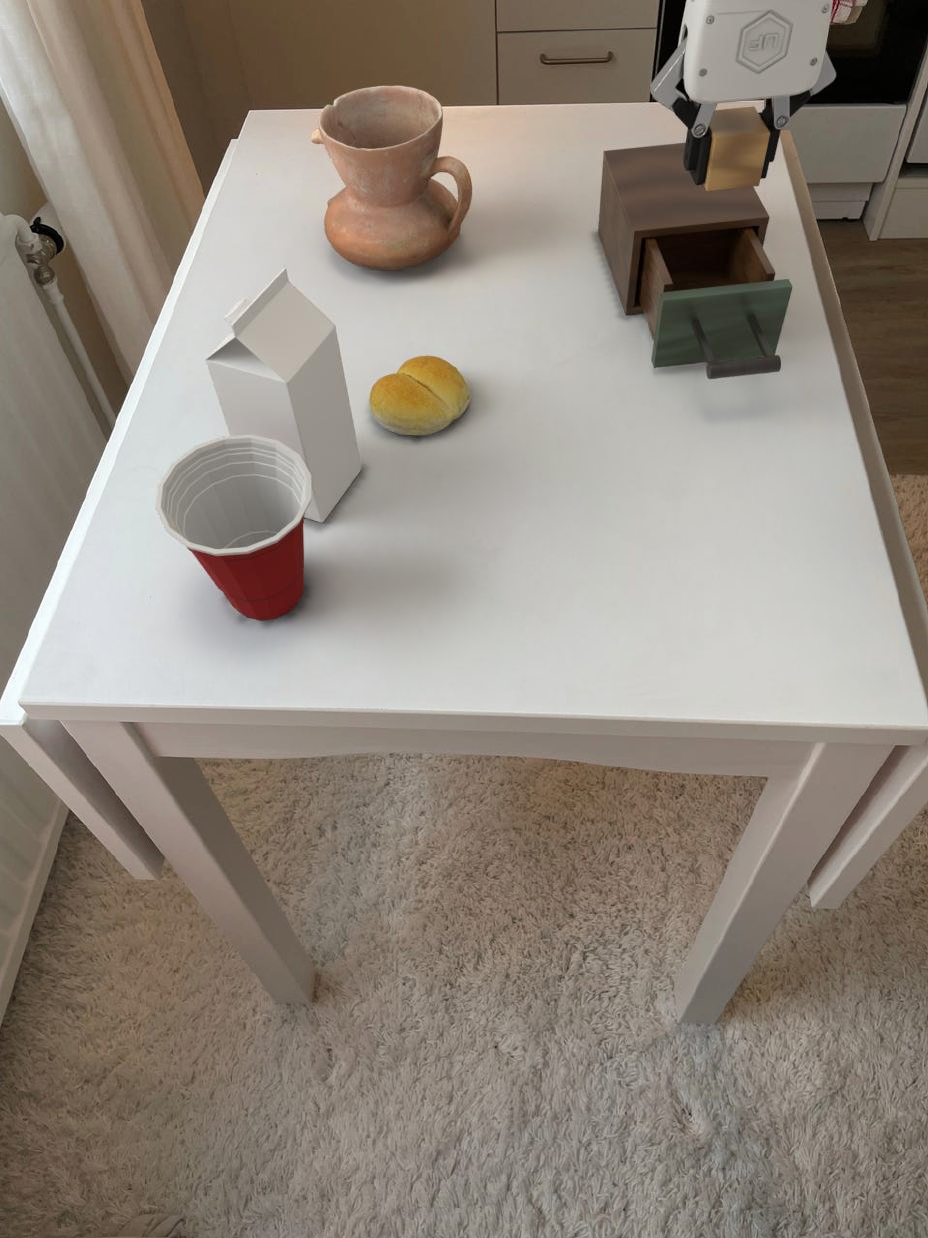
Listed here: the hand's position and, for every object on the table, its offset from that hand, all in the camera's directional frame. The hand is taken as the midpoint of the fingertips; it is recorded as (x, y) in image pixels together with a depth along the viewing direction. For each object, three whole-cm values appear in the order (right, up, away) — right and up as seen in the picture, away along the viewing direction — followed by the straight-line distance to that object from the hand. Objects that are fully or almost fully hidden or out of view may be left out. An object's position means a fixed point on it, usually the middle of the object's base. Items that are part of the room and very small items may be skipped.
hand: (726, 171), depth 79 cm
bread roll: (-26, -18, +9) cm, 32 cm away
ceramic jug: (-29, +3, +24) cm, 38 cm away
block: (0, 0, 0) cm, 0 cm away
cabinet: (0, -1, +20) cm, 20 cm away
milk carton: (-35, -26, +4) cm, 44 cm away
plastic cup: (-37, -35, -3) cm, 51 cm away
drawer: (+1, -11, +11) cm, 15 cm away
